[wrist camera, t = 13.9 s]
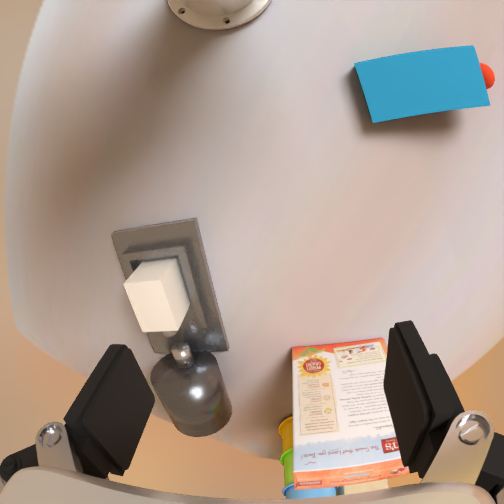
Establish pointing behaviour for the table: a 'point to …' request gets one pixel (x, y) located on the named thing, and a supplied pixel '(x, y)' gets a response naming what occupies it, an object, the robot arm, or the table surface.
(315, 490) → the stacking cups
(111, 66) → the table surface
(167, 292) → the block
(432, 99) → the blue ramp
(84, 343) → the table surface
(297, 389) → the cracker box
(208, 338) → the electric bell
